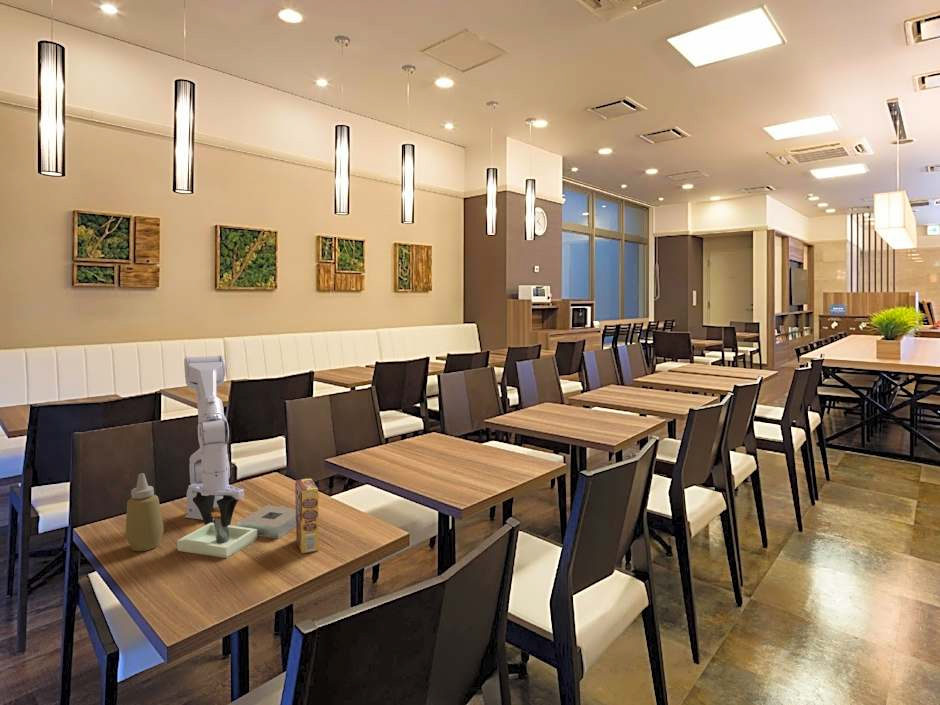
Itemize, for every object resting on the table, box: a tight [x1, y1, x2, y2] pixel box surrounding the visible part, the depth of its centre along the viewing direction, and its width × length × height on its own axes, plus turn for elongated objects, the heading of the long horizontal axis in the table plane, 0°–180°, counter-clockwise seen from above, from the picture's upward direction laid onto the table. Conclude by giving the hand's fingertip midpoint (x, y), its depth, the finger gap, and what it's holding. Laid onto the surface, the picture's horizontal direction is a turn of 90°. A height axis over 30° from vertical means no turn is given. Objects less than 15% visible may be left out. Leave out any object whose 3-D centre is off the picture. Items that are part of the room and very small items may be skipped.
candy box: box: [294, 478, 320, 554], centre depth 137 cm, size 9×4×15 cm, turn 26°
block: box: [237, 504, 296, 540], centre depth 149 cm, size 12×12×3 cm
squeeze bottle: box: [124, 472, 165, 552], centre depth 136 cm, size 8×8×18 cm
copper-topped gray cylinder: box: [210, 506, 229, 543], centre depth 138 cm, size 4×4×8 cm
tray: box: [176, 522, 258, 559], centre depth 138 cm, size 14×11×2 cm
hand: (217, 524), depth 138 cm, fingers open, 5 cm apart
